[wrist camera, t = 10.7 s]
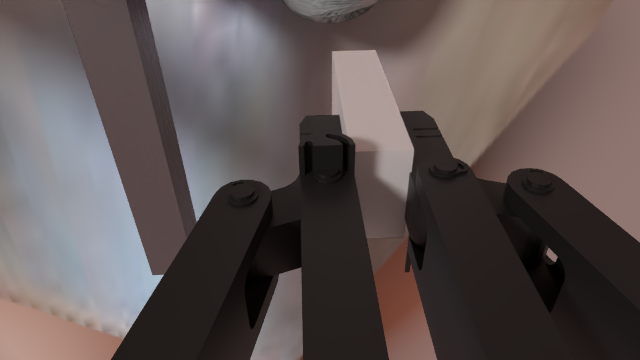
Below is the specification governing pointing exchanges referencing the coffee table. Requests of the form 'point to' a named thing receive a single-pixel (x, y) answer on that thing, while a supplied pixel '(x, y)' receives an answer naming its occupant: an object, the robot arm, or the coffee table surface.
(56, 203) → the coffee table surface
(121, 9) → the bar
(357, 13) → the grey streaked egg shape
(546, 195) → the robot arm
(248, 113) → the coffee table surface
